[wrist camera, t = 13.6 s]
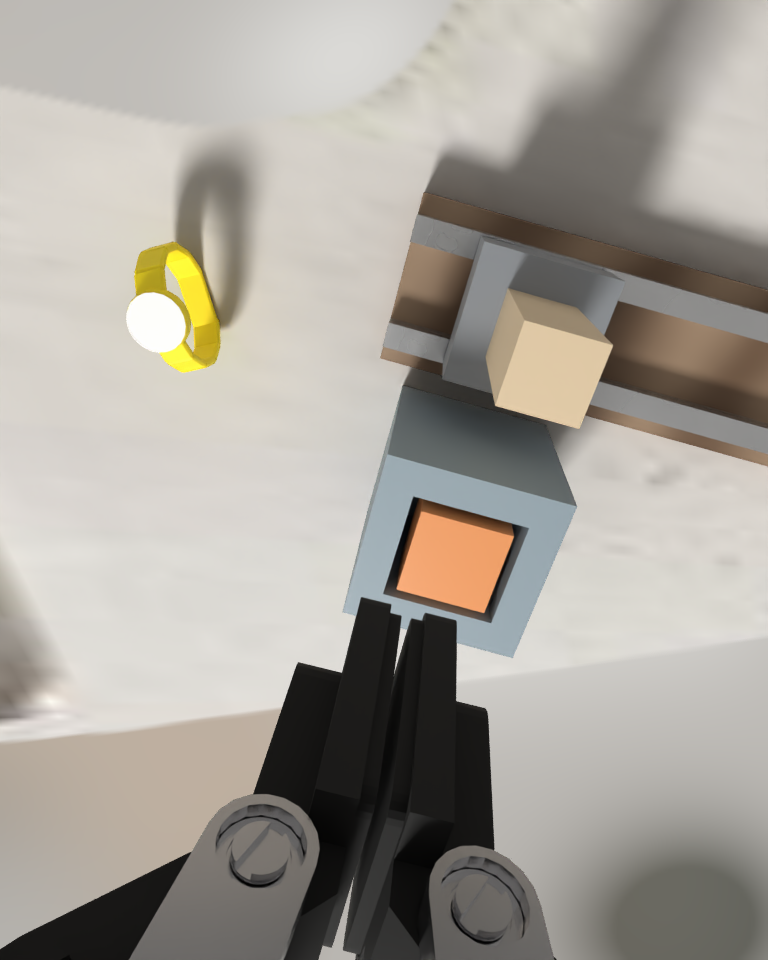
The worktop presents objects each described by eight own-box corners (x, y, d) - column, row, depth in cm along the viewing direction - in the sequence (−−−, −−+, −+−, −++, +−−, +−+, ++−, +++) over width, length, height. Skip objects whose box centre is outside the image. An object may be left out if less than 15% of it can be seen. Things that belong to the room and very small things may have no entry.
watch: (242, 344, 37) (209, 382, 32) (194, 355, 38) (155, 394, 32) (202, 231, 34) (159, 251, 29) (152, 244, 35) (101, 267, 30)
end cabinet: (552, 427, 37) (586, 509, 28) (505, 550, 40) (521, 660, 31) (402, 385, 37) (387, 454, 28) (367, 513, 40) (342, 612, 31)
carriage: (609, 272, 31) (677, 312, 22) (561, 396, 33) (604, 479, 24) (481, 235, 31) (494, 260, 22) (442, 362, 33) (440, 433, 24)
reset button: (508, 505, 31) (514, 536, 29) (481, 576, 33) (484, 613, 30) (423, 481, 31) (421, 511, 28) (401, 555, 33) (396, 589, 30)
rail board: (879, 321, 33) (913, 333, 31) (797, 467, 37) (822, 488, 34) (424, 191, 33) (422, 193, 30) (382, 351, 36) (378, 364, 34)
